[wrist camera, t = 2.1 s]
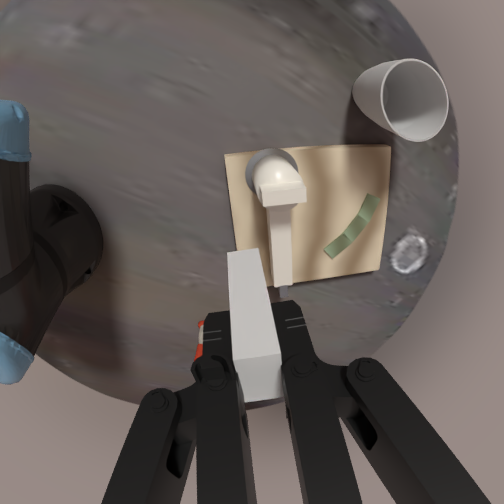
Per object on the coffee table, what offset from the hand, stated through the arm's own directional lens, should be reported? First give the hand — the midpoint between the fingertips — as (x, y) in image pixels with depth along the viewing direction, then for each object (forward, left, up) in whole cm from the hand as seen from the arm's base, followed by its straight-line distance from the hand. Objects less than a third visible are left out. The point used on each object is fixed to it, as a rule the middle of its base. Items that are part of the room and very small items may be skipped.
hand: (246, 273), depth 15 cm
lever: (+4, -7, -20) cm, 21 cm away
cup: (+17, +8, -22) cm, 29 cm away
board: (+9, -8, -22) cm, 25 cm away
